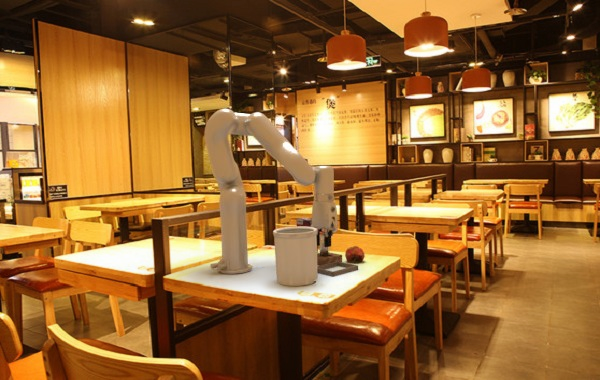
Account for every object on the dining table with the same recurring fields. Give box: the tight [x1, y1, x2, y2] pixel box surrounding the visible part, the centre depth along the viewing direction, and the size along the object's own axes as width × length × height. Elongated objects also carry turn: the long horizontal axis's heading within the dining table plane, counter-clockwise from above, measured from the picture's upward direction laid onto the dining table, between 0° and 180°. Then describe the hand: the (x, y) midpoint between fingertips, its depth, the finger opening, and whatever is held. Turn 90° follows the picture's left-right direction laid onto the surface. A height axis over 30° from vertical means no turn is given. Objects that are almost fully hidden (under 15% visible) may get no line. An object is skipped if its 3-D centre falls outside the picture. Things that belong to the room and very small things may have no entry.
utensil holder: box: [272, 225, 318, 287], centre depth 150 cm, size 15×15×18 cm
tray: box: [317, 261, 359, 278], centre depth 159 cm, size 13×10×2 cm
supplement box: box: [296, 217, 319, 254], centre depth 189 cm, size 9×5×16 cm, turn 41°
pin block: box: [317, 251, 343, 266], centre depth 171 cm, size 9×9×4 cm
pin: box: [319, 230, 329, 257], centre depth 171 cm, size 3×3×10 cm
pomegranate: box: [344, 245, 365, 265], centre depth 172 cm, size 7×7×10 cm
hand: (323, 245), depth 171 cm, fingers closed on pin, 3 cm apart
